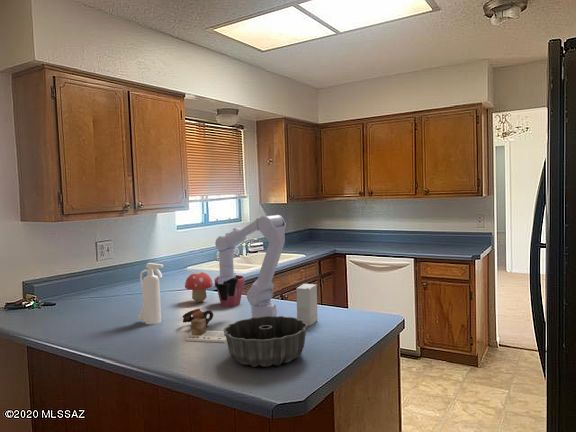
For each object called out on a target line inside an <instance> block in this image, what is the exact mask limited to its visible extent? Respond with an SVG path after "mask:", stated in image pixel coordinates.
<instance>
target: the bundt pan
mask: <svg viewBox="0 0 576 432" xmlns="http://www.w3.org/2000/svg"><path fill="white" fill-rule="evenodd" d="M307 328H308V325H307V324H306V323H304V321H303V320H299V319H297V317H293V316H292V317H291V316H283V315H279V316H278V315H277V317H275V316H264V317H258V318H252V317H250V318H246V319H241V320H237V321H235V322H233V323H229V324H227V326H226V327H224V328H223V331H224V336H226V339H227V341H226V343H227V348H228V352H229V356H230V357H231V358H232V359H233V360H234V361H235V362H237V363H240V364H242V365H245V366H251V367H253V368H256V367H258V366H260V367H264V368H266V367H270V366H272V365H274V366H276V367H279V366H280V365H281V364H287V363H290V362H291V361H293V360H295V359H298V358H299V357H300V356H301V355H302V353H303V350H304V348H305V344H306V333H307Z"/></svg>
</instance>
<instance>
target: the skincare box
mask: <svg viewBox="0 0 576 432" xmlns="http://www.w3.org/2000/svg"><path fill="white" fill-rule="evenodd" d="M317 287H318V285H317V284H313V283H302V284H301V285H300V286H298V287H296V318H297V319H299V320H303V321H304V323H306V324H307V325H308V326H309V327H310V326H312V325H313V324H315V323H316V322H317V321H318V320H319V319H318V288H317Z"/></svg>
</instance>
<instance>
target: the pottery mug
mask: <svg viewBox="0 0 576 432" xmlns="http://www.w3.org/2000/svg"><path fill="white" fill-rule="evenodd" d="M208 315H209V317H207V316H208ZM182 318H183V319H182V323H183V324H184V323H191V321H192V320H194V319H196V318H199V319H206V329H207V328H208V324H209V323H210V322H211V321H212V320H213V318H214V313H213V311H212V310H209V309H208V310H205V311H201V309H200V308H195V309H193V310H190V311H188V312H186V313H184V314H183V315H182Z"/></svg>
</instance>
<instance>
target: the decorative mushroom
mask: <svg viewBox="0 0 576 432" xmlns="http://www.w3.org/2000/svg"><path fill="white" fill-rule="evenodd" d="M213 286H214V285H213V280H212V278H211V276H209V274H207V273H205V272H203V271H195V272H192V273H191V274H189V275H188V277H186V280H185V283H184V289H186V290H188V291H191V292H192V293H191V295H192V296H191V297H192V298H191V299H192V300H193V301H194V302H195V303H202V302H204V301H205V300H206V299H207V289H210V288H212V287H213Z"/></svg>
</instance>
